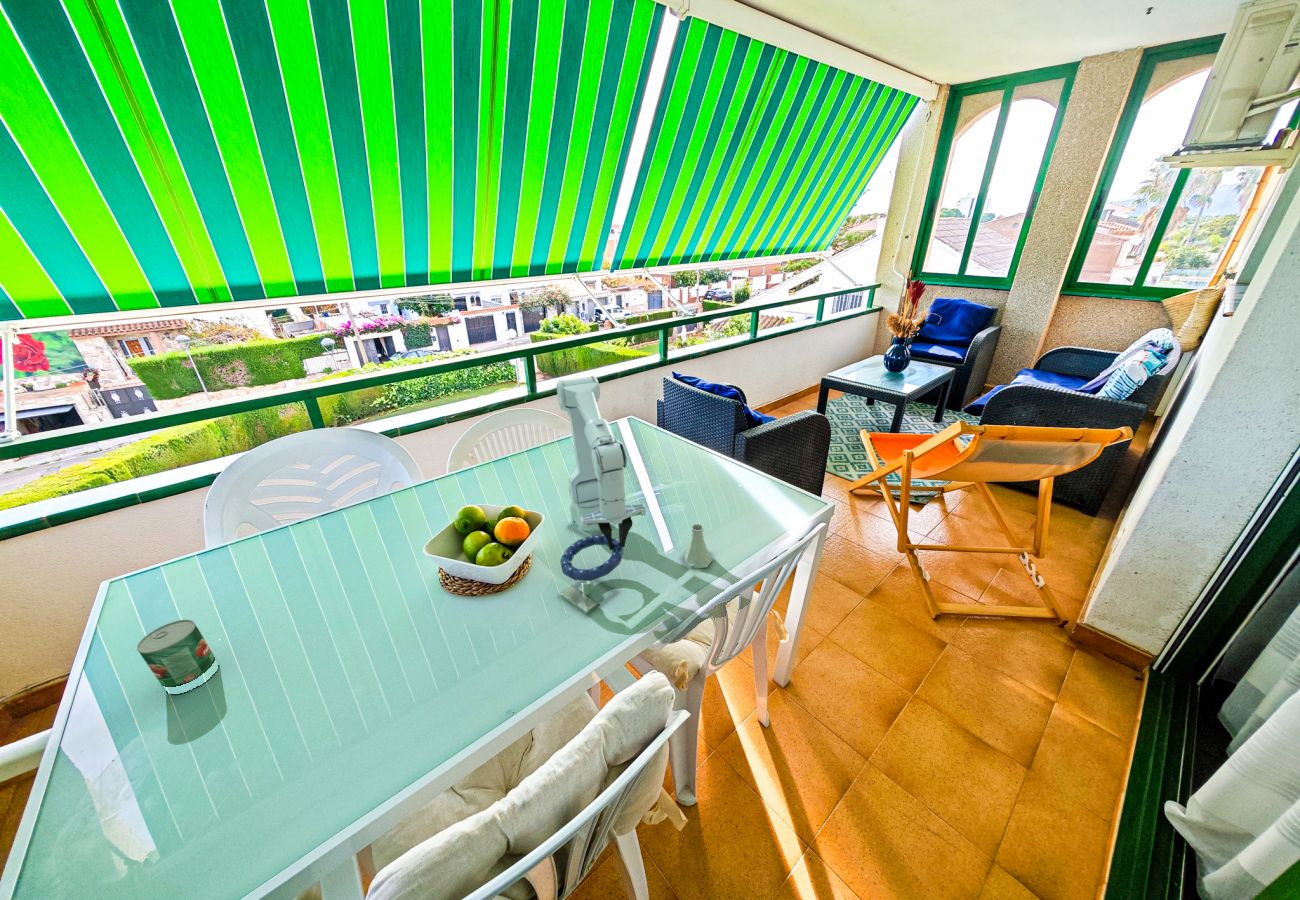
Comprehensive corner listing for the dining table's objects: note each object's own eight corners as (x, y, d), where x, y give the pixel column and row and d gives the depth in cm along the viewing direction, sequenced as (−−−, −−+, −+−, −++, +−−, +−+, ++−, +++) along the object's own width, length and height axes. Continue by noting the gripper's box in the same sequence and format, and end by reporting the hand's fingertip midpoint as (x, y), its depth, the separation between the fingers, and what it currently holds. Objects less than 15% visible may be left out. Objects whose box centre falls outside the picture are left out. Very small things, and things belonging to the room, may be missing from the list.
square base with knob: (561, 596, 106) (559, 582, 104) (590, 576, 112) (588, 562, 110) (586, 615, 100) (585, 600, 99) (616, 592, 106) (614, 578, 105)
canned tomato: (229, 663, 92) (205, 622, 87) (185, 698, 85) (157, 655, 80) (199, 657, 94) (175, 616, 89) (154, 691, 87) (124, 648, 82)
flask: (710, 570, 112) (711, 536, 108) (681, 567, 114) (680, 534, 110) (712, 552, 119) (713, 520, 115) (685, 550, 120) (684, 517, 116)
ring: (550, 568, 106) (547, 560, 105) (595, 534, 115) (592, 526, 114) (590, 592, 96) (588, 583, 95) (636, 552, 105) (634, 544, 104)
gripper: (583, 510, 95) (589, 563, 101) (648, 497, 99) (651, 548, 105) (576, 495, 101) (583, 545, 107) (639, 483, 105) (642, 532, 111)
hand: (616, 546), depth 106 cm, fingers closed on ring, 2 cm apart
